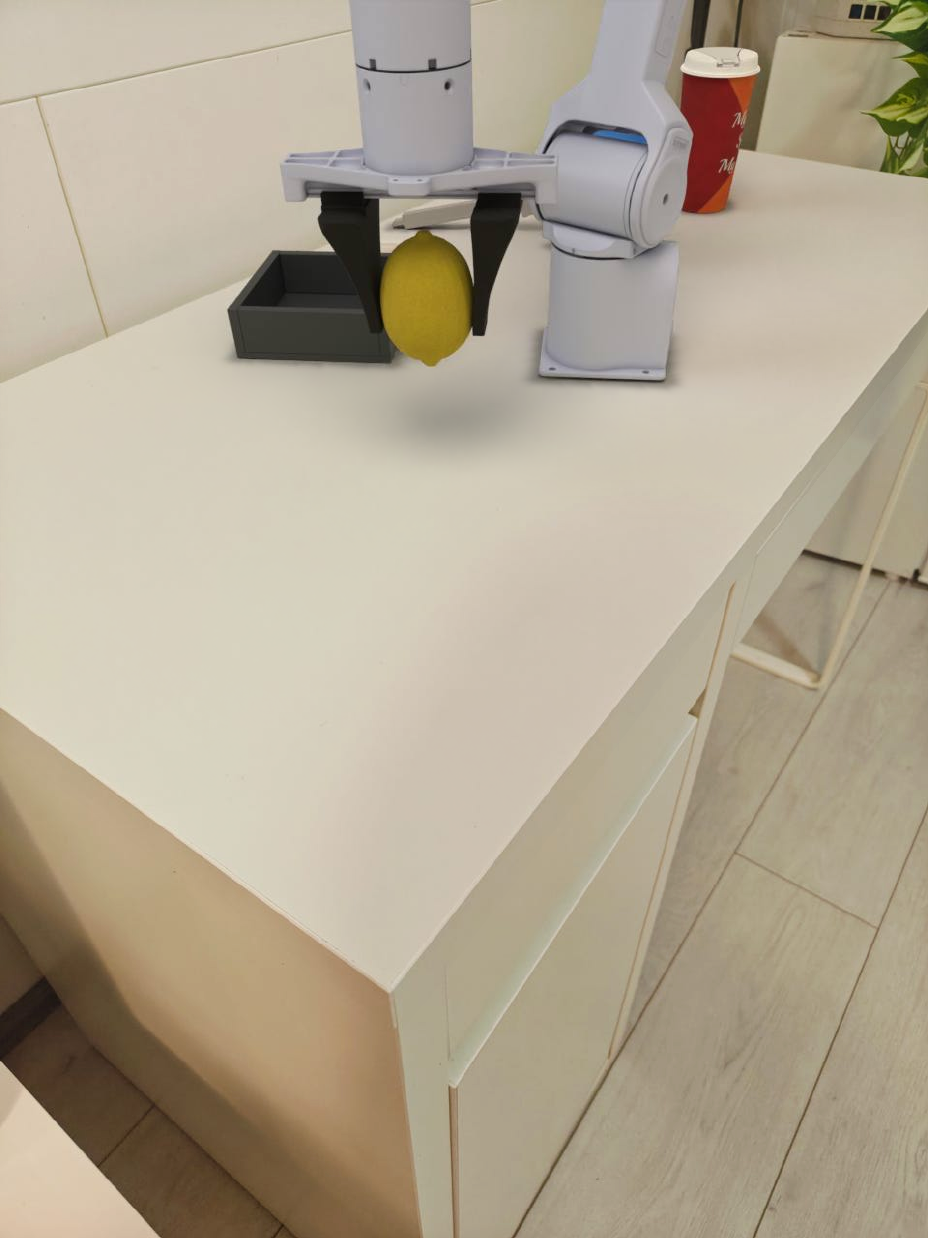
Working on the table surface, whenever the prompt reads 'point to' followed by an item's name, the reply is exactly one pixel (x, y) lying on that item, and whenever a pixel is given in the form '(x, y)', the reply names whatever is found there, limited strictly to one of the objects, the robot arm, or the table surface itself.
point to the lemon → (426, 298)
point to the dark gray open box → (305, 312)
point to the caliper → (445, 214)
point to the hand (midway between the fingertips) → (428, 327)
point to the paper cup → (715, 120)
